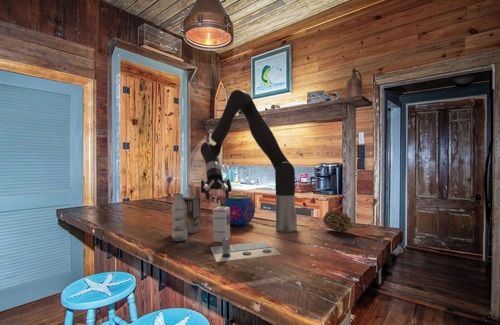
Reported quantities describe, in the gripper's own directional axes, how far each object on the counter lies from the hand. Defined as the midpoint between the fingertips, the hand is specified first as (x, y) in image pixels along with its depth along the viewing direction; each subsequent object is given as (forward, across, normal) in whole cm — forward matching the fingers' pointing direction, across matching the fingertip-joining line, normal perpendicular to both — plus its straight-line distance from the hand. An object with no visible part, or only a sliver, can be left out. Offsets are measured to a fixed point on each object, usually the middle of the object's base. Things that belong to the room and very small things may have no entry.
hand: (217, 198), depth 118 cm
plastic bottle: (+14, -17, +10) cm, 24 cm away
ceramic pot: (0, +14, +24) cm, 28 cm away
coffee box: (+4, -12, +21) cm, 24 cm away
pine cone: (+22, +58, +2) cm, 62 cm away
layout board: (+30, +6, -6) cm, 31 cm away
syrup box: (+19, 0, +5) cm, 20 cm away
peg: (+32, -2, -9) cm, 33 cm away
